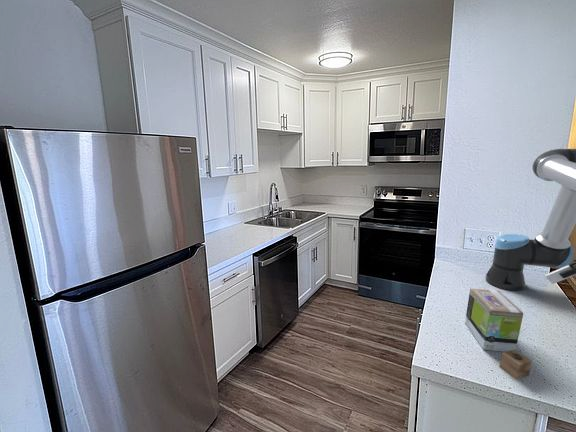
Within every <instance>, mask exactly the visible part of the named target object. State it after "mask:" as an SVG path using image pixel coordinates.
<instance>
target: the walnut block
mask: <svg viewBox="0 0 576 432" xmlns="http://www.w3.org/2000/svg"><path fill="white" fill-rule="evenodd" d="M500 357H501V358H500V363H499V368H501V370H503V371H505V372H506V373H507V374H509V376H511V377H513V378H514V379H515V380H518V379H522V378H524V377H527V376H529V375H530V372H531V367H532V364H533V362H532V361H533V360H531V359H530V358H529V357H527V356H525V355H524V354H522V353H521V352H519V351H517V349H516V350H515V349H514V350H511V351H507V352H502V353H501V356H500Z"/></svg>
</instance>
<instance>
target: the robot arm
mask: <svg viewBox="0 0 576 432" xmlns="http://www.w3.org/2000/svg"><path fill="white" fill-rule="evenodd" d="M532 171H533V173H534V175H535V176H536V177H537V178H539V179H541V180H543V181H545V182H546V181H547V182H555V183H557V184H560V185H561V187H560V188H559V191H558V193H557V195H556V198H555V200H554V203H553V205H552V208H551V211H550V213H549V215H548V216H547V220H546V221H545V222H546V223H545V224H544V227H543V230H542V232H538V233H537V234H536V235H535V238H534V239H530V238H529V237H528V236H527V235H524V234H518V233H517V234H516V233H506V234H502V235H500V236H498V237H497V238H496V241H495V245H494V253H493V259H492V264H491V266H490V268H489V269H488V271H487V272H486V274H485V281H486V282H487V283H488V284H489V285H491V286H493V287H496V288H499V289H503V290H506V291H507V290H508V291H515V292H516V291H523V290H524V289H525V287H526V281H525V275H524V267H525V266H535V267H544V268H552V269H554V268H555V269H556V270H553V271H551V272H549V273H546V274H545V275H544V277H545V278H546V279H547V280H548V282H550V283H551V284H552V285H554V284H557V283H559V282H562V281H564V280H567V279H569V278H572V277H575V276H576V259H573V258H574V253H575V252H574V247H573V245H572V243H571V241H570V240H569V239H570V236H571V234H572V231H573V230H574V228H575V225H576V148H556V149H555V148H554V149H551V150H547V151H545V152H543V153H541V154H539V156H537V158H535V160H534V161H533V163H532ZM557 268H558V269H557Z"/></svg>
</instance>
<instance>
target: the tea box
mask: <svg viewBox="0 0 576 432" xmlns="http://www.w3.org/2000/svg"><path fill="white" fill-rule="evenodd" d="M466 307H467V308H466V312H465V313H466V314H465V318H464V319H465V320H464V324H465V325H466V326H467V328H468V330H469V331H470V333H471V334H472V335H473V337H474V338H475V340H476V341H477V342H478V344H479V346H480V347H481V348H482V350H486V351H494V352H502V353H504V352H507V351H511V350H514V349H515V350H516V351H517V345H518V340H519V337H520V331H521V326H522V322H523V317H524V312H523V311H522V310H521V309H520V308H519V307H518V306H517V305H515V304H514V303H513V302H512V301H511V300H510V299H509V298H508V297H507V296H506V295H504V293H502V292H501V291H500V290H499V289H498V290H497V289H496V290H495V289H485V288H483V289H482V288H481V289H480V288H470V289H469V295H468V300H467V306H466Z"/></svg>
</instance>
